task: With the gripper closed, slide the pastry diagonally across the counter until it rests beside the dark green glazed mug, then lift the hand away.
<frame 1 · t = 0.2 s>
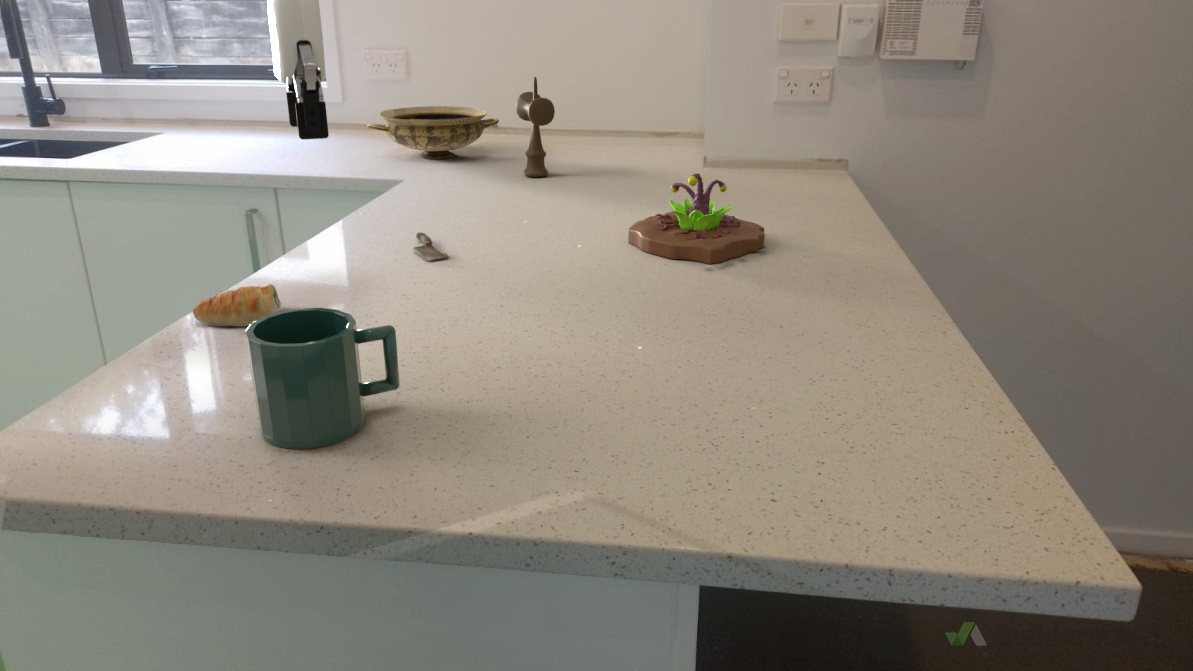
hand: (308, 131, 99), 20 cm above the worktop, tool pointing down, fingers open, 9 cm apart
ceramic bowl: (436, 156, 194), on the worktop
kendama: (536, 177, 176), on the worktop
plant: (694, 244, 131), on the worktop
pastry: (245, 320, 98), on the worktop
meat cleaver: (429, 250, 125), on the worktop
mug: (313, 424, 75), on the worktop
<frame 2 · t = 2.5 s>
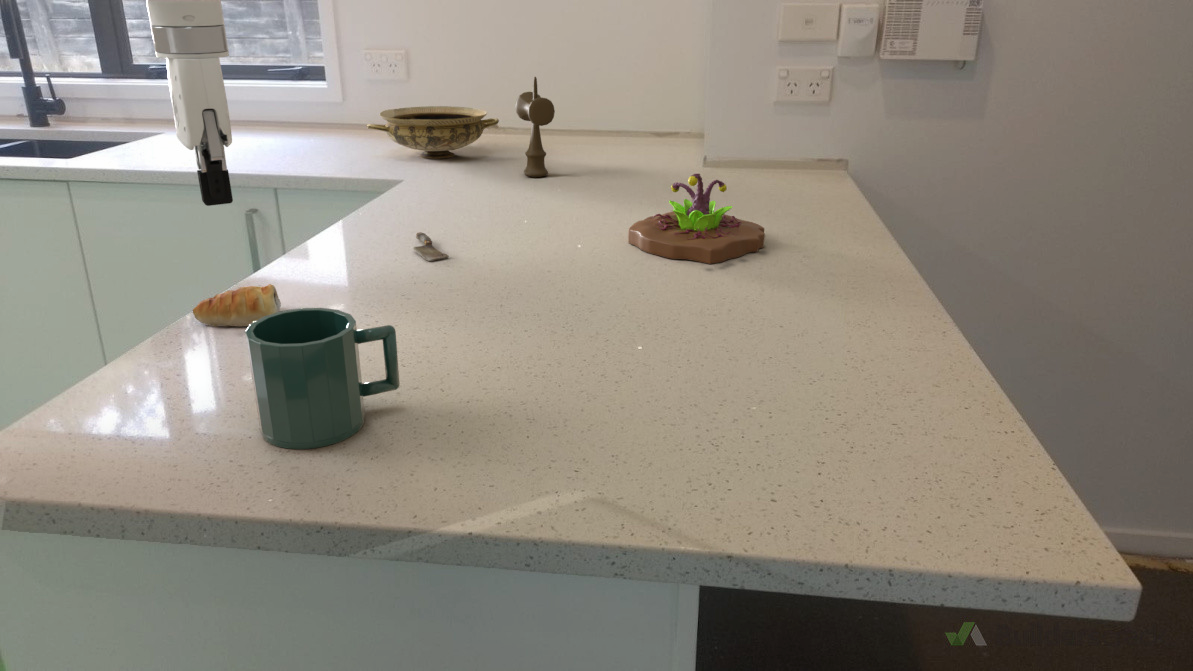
hand: (217, 202, 101), 12 cm above the worktop, tool pointing down, fingers closed
nothing on the worktop moved.
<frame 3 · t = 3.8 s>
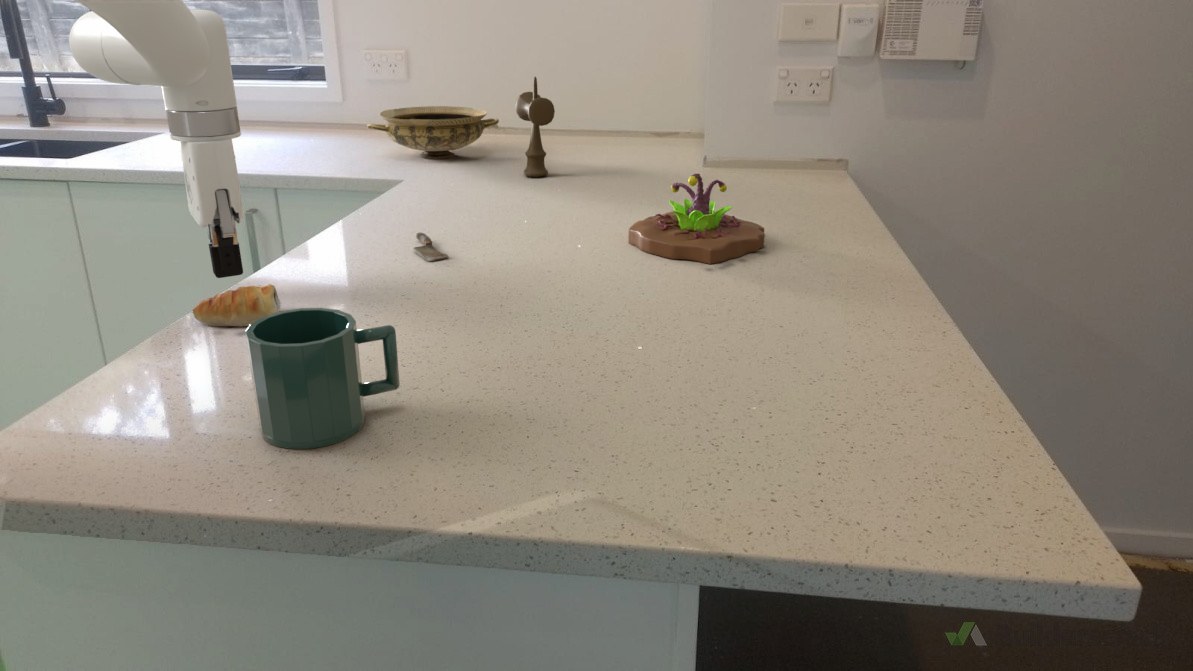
hand: (228, 274, 104), 3 cm above the worktop, tool pointing down, fingers closed
nothing on the worktop moved.
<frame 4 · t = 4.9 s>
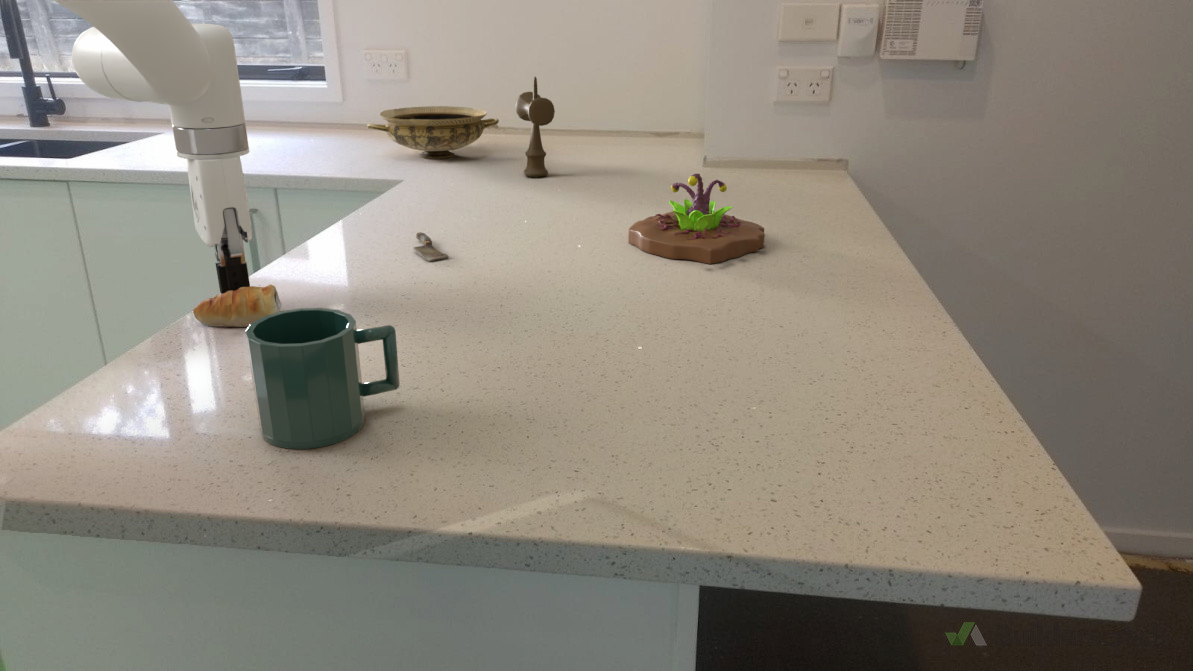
hand: (235, 293, 101), 2 cm above the worktop, tool pointing down, fingers closed
pastry: (246, 320, 98), on the worktop, touching gripper
everything else where it was.
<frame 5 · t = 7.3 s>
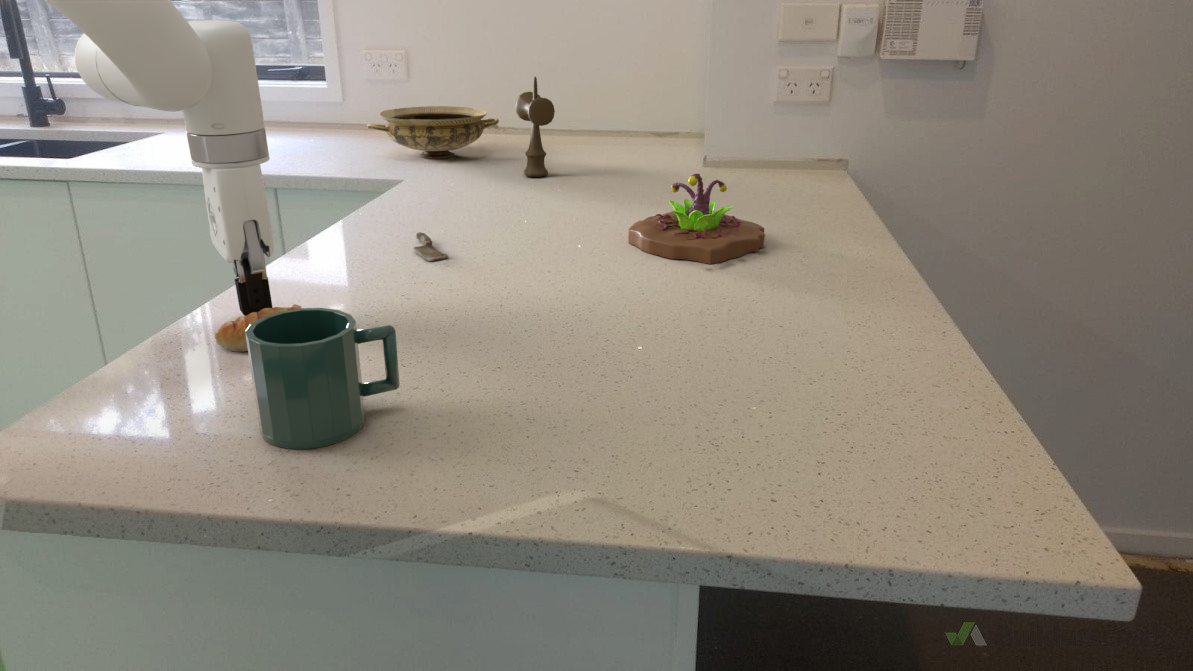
hand: (256, 311, 94), 2 cm above the worktop, tool pointing down, fingers closed
pastry: (271, 343, 92), on the worktop, touching gripper
everything else where it was.
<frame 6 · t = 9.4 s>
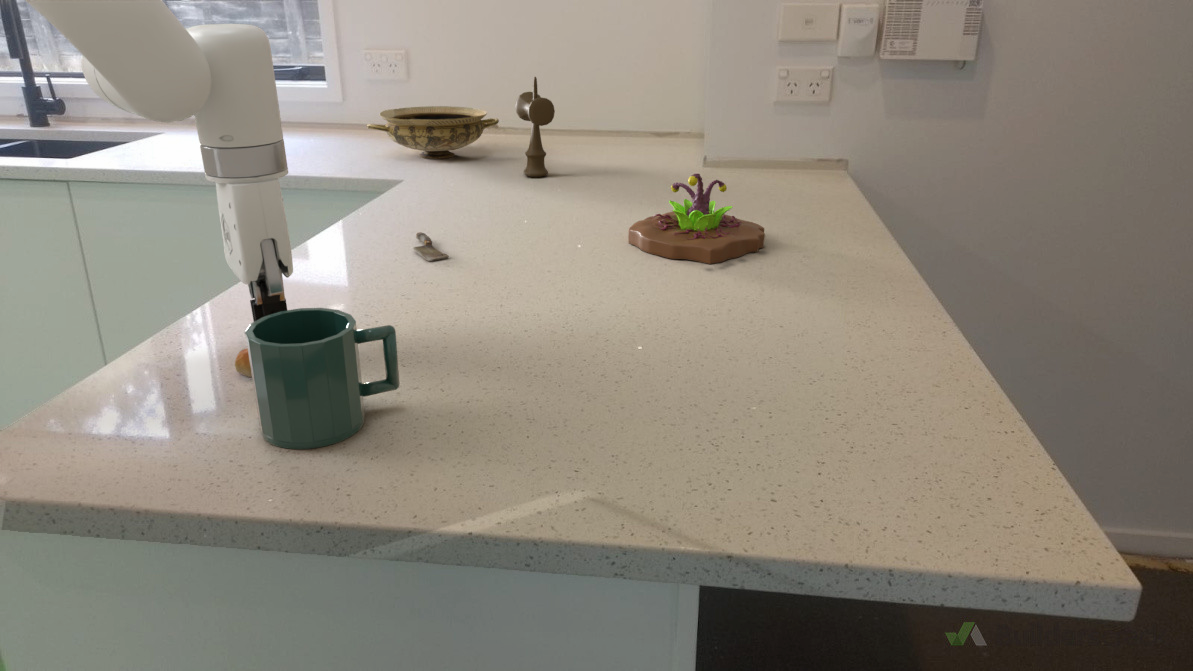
hand: (273, 334, 88), 2 cm above the worktop, tool pointing down, fingers closed
pastry: (293, 369, 86), on the worktop, touching gripper
everything else where it was.
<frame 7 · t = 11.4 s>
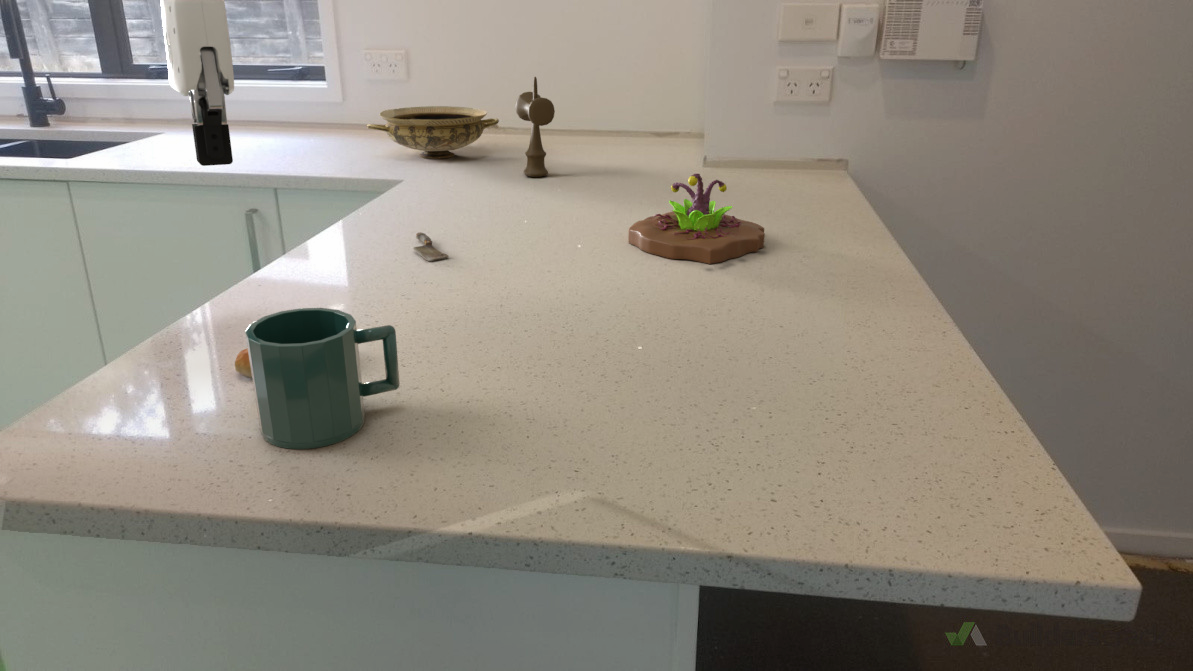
hand: (215, 163, 87), 19 cm above the worktop, tool pointing down, fingers closed
pastry: (293, 369, 86), on the worktop
everything else where it was.
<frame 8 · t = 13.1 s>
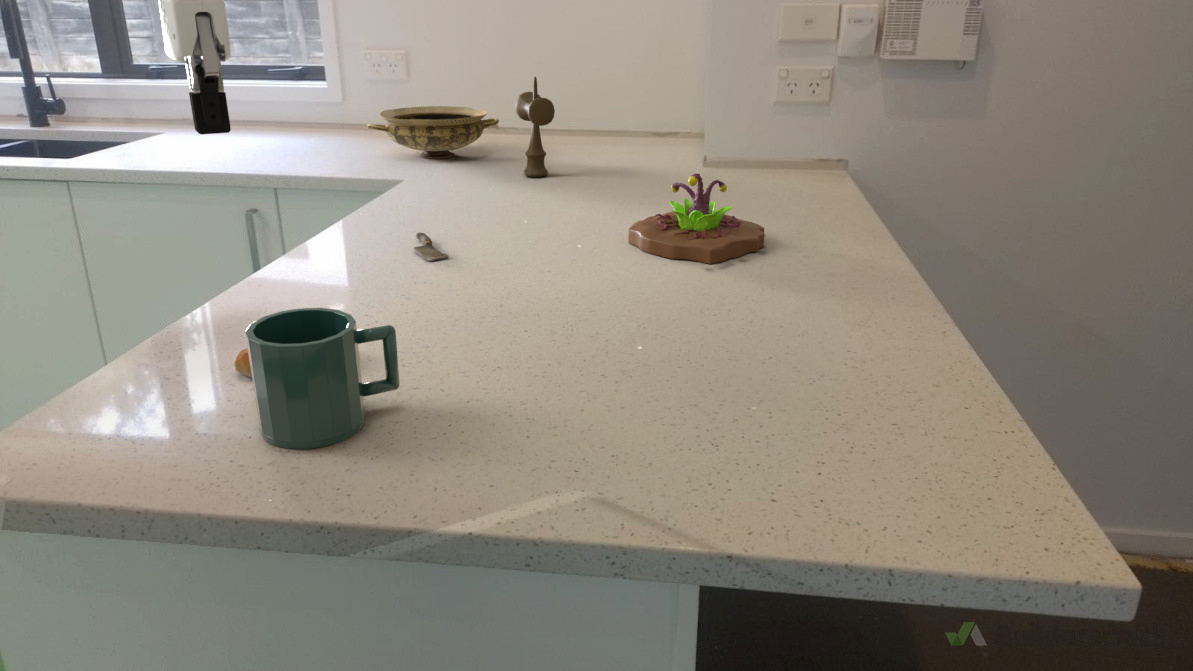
hand: (213, 132, 87), 22 cm above the worktop, tool pointing down, fingers closed
nothing on the worktop moved.
at the end: pastry 13.3 cm from the mug (horizontally); pastry moved 16.6 cm from its start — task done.
